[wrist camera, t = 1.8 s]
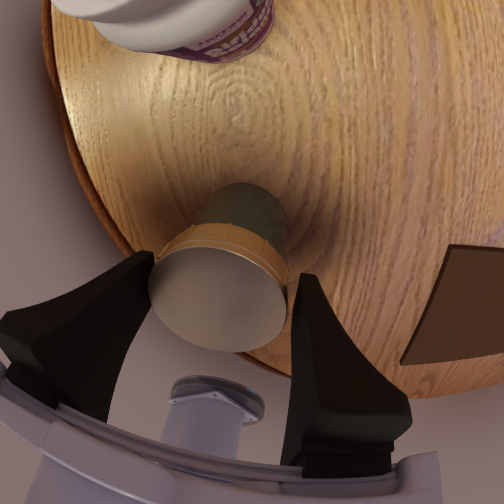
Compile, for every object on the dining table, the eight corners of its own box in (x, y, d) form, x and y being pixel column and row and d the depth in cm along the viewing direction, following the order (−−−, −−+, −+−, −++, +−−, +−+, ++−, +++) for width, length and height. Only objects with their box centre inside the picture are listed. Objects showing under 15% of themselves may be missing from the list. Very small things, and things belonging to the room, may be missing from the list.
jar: (235, 272, 18) (211, 351, 13) (184, 212, 17) (136, 279, 11) (303, 237, 16) (305, 317, 11) (253, 165, 15) (226, 220, 9)
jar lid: (216, 337, 14) (209, 363, 13) (140, 261, 12) (123, 284, 11) (313, 299, 12) (314, 328, 11) (235, 195, 10) (224, 216, 9)
